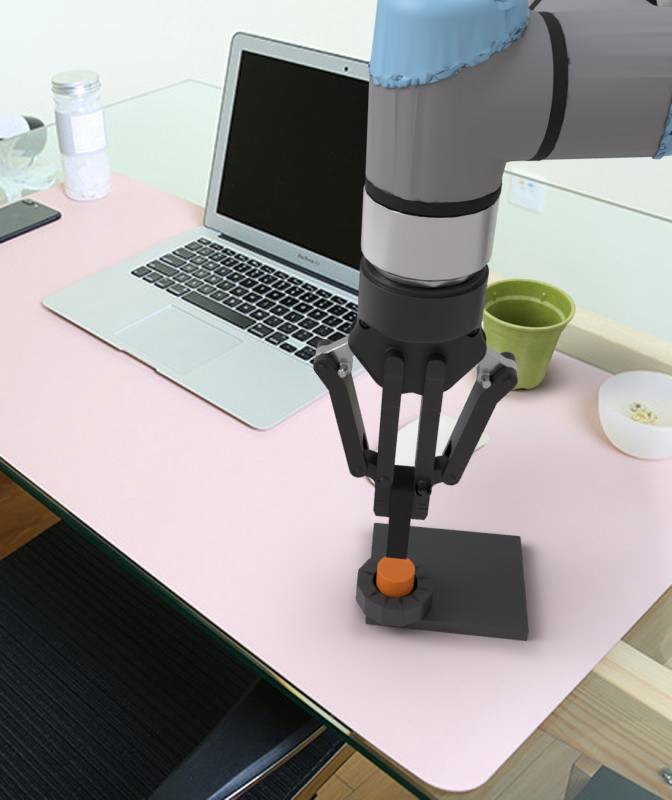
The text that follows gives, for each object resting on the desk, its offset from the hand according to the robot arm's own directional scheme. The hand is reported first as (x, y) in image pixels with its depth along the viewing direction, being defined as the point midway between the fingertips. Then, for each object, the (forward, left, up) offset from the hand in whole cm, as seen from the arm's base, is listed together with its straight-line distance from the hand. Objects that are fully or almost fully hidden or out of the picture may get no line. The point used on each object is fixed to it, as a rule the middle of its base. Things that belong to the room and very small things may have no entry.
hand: (396, 544), depth 70 cm
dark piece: (-4, -3, -7) cm, 8 cm away
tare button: (0, 0, -4) cm, 4 cm away
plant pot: (-11, -33, -7) cm, 35 cm away
